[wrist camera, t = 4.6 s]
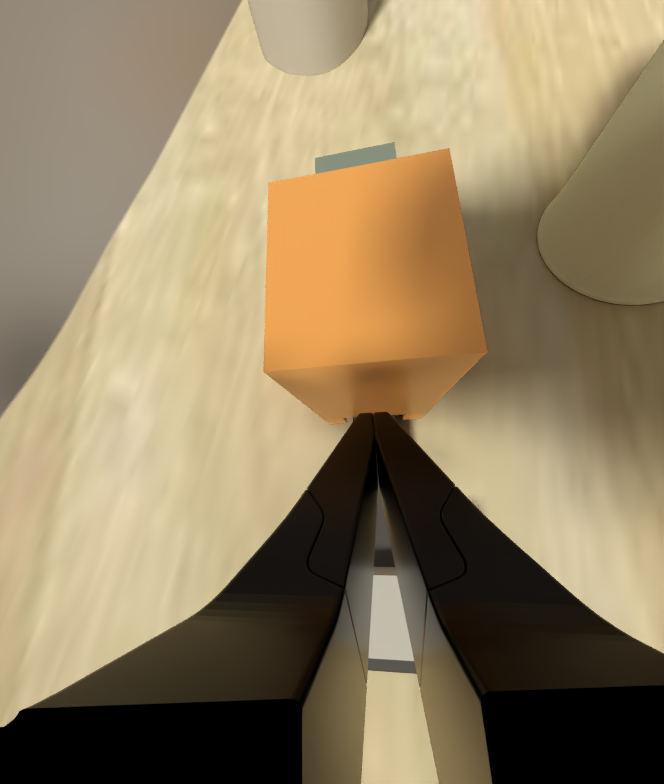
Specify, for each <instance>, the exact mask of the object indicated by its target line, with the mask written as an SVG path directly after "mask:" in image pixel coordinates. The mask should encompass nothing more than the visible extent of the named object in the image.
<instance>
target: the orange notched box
mask: <svg viewBox="0 0 664 784" xmlns="http://www.w3.org/2000/svg"><path fill="white" fill-rule="evenodd" d="M487 352H488V351H487V346H486V340H485V335H484V330H483V324H482V319H481V314H480V308H479V303H478V298H477V293H476V287H475V282H474V277H473V271H472V266H471V261H470V255H469V250H468V245H467V239H466V234H465V229H464V224H463V218H462V213H461V208H460V202H459V197H458V192H457V186H456V181H455V176H454V171H453V165H452V160H451V155H450V149H444V150H438V151H433V152H428V153H423V154H417V155H412V156H407V157H402V158H396V159H391V160H386V161H381V162H375V163H370V164H365V165H360V166H355V167H349V168H344V169H339V170H334V171H328V172H323V173H318V174H313V175H307V176H302V177H297V178H292V179H287V180H281V181H276V182H271V183H269V190H268V226H267V263H266V300H265V336H264V373H266V374H267V375H268V376H269V377H271V378H272V379H273V380H275V381H276V382H277V383H278V384H280V385H281V386H282V387H283V388H285V389H286V390H287V391H289V392H290V393H291V394H292V395H294V396H295V397H296V398H297V399H299V400H300V401H301V402H302V403H304V404H305V405H306V406H308V407H309V408H310V409H311V410H313V411H314V412H315V413H316V414H318V415H319V416H320V417H322V418H323V419H324V420H325V421H327V422H328V423H329V424H338V423H347V420H346V418H353V417H357V416H358V414H360V413H373V416H374V413H375V412H388V413H389V414H390V415H402V418H403V420H407V419H421V418H422V417H423V416H424V415H425V414H426V413H427V412H428V411H429V410H430V409H431V408H432V407H433V406H434V405H435V404H436V403H437V402H438V401H439V400H440V399H441V398H442V397H443V396H444V395H445V394H446V393H447V392H448V391H449V390H450V389H451V388H452V387H453V386H454V385H455V384H456V383H457V382H458V381H459V380H460V379H461V378H462V377H463V376H464V375H465V374H466V373H467V372H468V371H469V370H470V369H471V368H472V367H473V366H474V365H475V364H476V363H477V362H478V361H479V360H480V359H481V358H482V357H483V356H484V355H485V354H486V353H487Z"/></svg>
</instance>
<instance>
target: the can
mask: <svg viewBox="0 0 664 784" xmlns="http://www.w3.org/2000/svg"><path fill="white" fill-rule="evenodd" d="M537 241H538V247H539V250H540V254H541V256H542V258H543V260H544V262H545V264H546V265H547V267H548V268H549V269H550V271H551V272H552V273H553V274H554V275H555V276H556V277H557V278H558V279H559V280H560V281H562V282H563V283H564V284H565V285H567V286H568V287H570V288H572V289H573V290H575V291H577V292H579V293H581V294H583V295H585V296H588V297H590V298H593V299H596V300H600V301H604V302H608V303H614V304H621V305H643V304H652V303H657V302H661V301H664V40H663V42H662V43H661V45H660V46H659V48H658V49H657V51H656V52H655V54H654V55H653V57H652V58H651V60H650V61H649V63H648V64H647V66H646V67H645V69H644V70H643V72H642V73H641V75H640V76H639V77H638V79H637V80H636V82H635V83H634V85H633V86H632V88H631V89H630V91H629V92H628V94H627V95H626V97H625V98H624V100H623V101H622V103H621V104H620V106H619V107H618V108H617V110H616V111H615V113H614V114H613V116H612V117H611V119H610V120H609V122H608V123H607V125H606V126H605V128H604V129H603V131H602V132H601V134H600V135H599V137H598V138H597V139H596V141H595V142H594V144H593V145H592V147H591V148H590V150H589V151H588V153H587V154H586V156H585V157H584V159H583V160H582V161H581V163H580V164H579V166H578V167H577V169H576V170H575V172H574V173H573V174H572V176H571V177H570V179H569V180H568V182H567V183H566V184H565V186H564V187H563V189H562V190H561V191H560V193H559V194H558V195H557V196H556V197H555V198H554V199H553V200H552V201H551V203H550V204H549V205H548V206H547V208H546V209H545V211H544V213H543V215H542V217H541V219H540V222H539V226H538V233H537Z"/></svg>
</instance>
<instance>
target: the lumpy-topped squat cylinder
mask: <svg viewBox="0 0 664 784" xmlns="http://www.w3.org/2000/svg"><path fill="white" fill-rule="evenodd" d="M248 4H249V7H250V11H251V14H252V18H253V22H254V25H255V29H256V32H257V36H258V39H259V43H260V46H261V50H262V53H263V55H264V58H265V59H266V61H267V62H268V63H269V64H271V65H272V66H274V67H276V68H277V69H279V70H281V71H283V72H285V73H288V74H292V75H298V76H316V75H321V74H324V73H327V72H329V71H331V70H333V69H335V68H337V67H338V66H340V65H341V64H342V63H344V62H345V61H346V60H347V59H348V58H349V57H350V56H351V55H352V54H353V53H354V51H355V50H356V49H357V47H358V46H359V44H360V42H361V40H362V38H363V36H364V33H365V31H366V28H367V25H368V0H248Z"/></svg>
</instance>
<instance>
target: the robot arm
mask: <svg viewBox="0 0 664 784" xmlns="http://www.w3.org/2000/svg"><path fill="white" fill-rule="evenodd" d="M374 429H375V430H374ZM375 443H376V444H375ZM376 456H377V458H376ZM377 470H378V472H377ZM378 482H379V490H380V495H381V500H382V505H383V510H384V515H385V520H386V525H387V530H388V535H389V539H390V544H391V549H392V554H393V559H394V564H395V569H396V574H397V579H398V584H399V589H400V593H401V598H402V603H403V608H404V613H405V618H406V623H407V628H408V633H409V638H410V643H411V647H412V652H413V657H414V662H415V667H416V672H417V677H418V682H419V686H420V688H421V689H420V692H421V697H422V702H423V707H424V712H425V716H426V721H427V726H428V731H429V736H430V741H431V746H432V751H433V756H434V761H435V766H436V770H437V775H438V780H439V784H664V653H662V652H660V651H658V650H656V649H654V648H652V647H650V646H648V645H646V644H644V643H642V642H640V641H638V640H637V639H635V638H633V637H631V636H629V635H628V634H626V633H625V632H623V631H621V630H620V629H618V628H616V627H615V626H613V625H612V624H611V623H609V622H608V621H606V620H605V619H603V618H602V617H600V616H599V615H598V614H596V613H595V612H594V611H592V610H591V609H590V608H589V607H587V606H586V605H585V604H583V603H582V602H581V601H580V600H579V599H578V598H576V597H575V596H574V595H573V594H572V593H571V592H569V591H568V590H567V589H566V588H565V587H564V586H563V585H561V584H560V583H559V582H558V581H557V580H556V579H555V578H554V577H552V576H551V575H550V574H549V573H548V572H547V571H546V570H545V569H543V568H542V567H541V566H540V565H539V564H538V563H537V562H536V561H534V560H533V559H532V558H531V557H530V556H529V555H528V554H526V553H525V552H524V551H523V550H522V549H521V548H520V547H519V546H517V545H516V544H515V543H514V542H513V541H512V540H511V539H510V538H508V537H507V536H506V535H505V534H504V533H503V532H502V531H501V530H500V529H499V528H498V527H496V526H495V525H494V524H493V523H492V522H491V521H490V520H489V519H488V518H487V517H486V516H485V515H484V514H483V513H482V512H481V511H480V510H479V509H478V508H477V507H476V506H475V505H474V504H473V503H472V502H471V501H470V500H469V499H468V498H467V497H466V496H465V495H464V494H463V493H462V491H461V490H460V489H459V488H458V487H455V484H454V483H453V482H452V481H451V480H450V479H449V478H448V476H447V475H446V474H445V473H444V472H443V471H442V470H441V469H440V468H439V467H438V466H437V465H436V463H435V462H434V461H433V460H432V459H431V458H430V457H429V456H428V455H427V454H426V453H425V452H424V451H423V449H422V448H421V447H420V446H419V445H418V444H417V443H416V442H415V441H414V440H413V439H412V438H411V436H410V435H409V434H408V433H407V432H406V431H405V430H404V429H403V428H402V427H401V426H400V425H399V423H398V422H397V421H396V420H395V419H394V418H393V417H392V416H391V415H390V414H389V413H388V412H375V413H374V417H373V413H360V414H358V416H357V417H356V419H355V420H354V422H353V423H352V424H351V426H350V427H349V429H348V430H347V432H346V433H345V434H344V436H343V437H342V439H341V440H340V442H339V443H338V444H337V446H336V447H335V449H334V450H333V452H332V453H331V455H330V456H329V457H328V459H327V460H326V462H325V463H324V465H323V466H322V467H321V469H320V470H319V472H318V473H317V475H316V476H315V478H314V479H313V480H312V482H311V483H310V485H309V486H308V488H307V490H305V492H304V493H303V494H302V496H301V497H300V499H299V500H298V502H297V503H296V504H295V506H294V507H293V508H292V510H291V511H290V512H289V514H288V515H287V516H286V518H285V519H284V520H283V521H282V523H281V524H280V525H279V526H278V527H277V529H276V530H275V531H274V532H273V533H272V535H271V536H270V537H269V538H268V539H267V540H266V541H265V543H264V544H263V545H262V546H261V547H260V548H259V549H258V551H257V552H256V553H255V554H254V555H253V556H252V557H251V559H250V560H249V561H248V562H247V563H246V564H245V565H244V567H243V568H242V569H241V570H240V571H239V572H238V573H237V575H236V576H235V577H234V578H233V579H232V580H231V581H230V582H229V584H228V585H227V586H226V587H225V588H224V589H223V590H222V591H221V592H220V593H219V594H218V595H217V596H216V597H215V598H214V599H213V600H212V601H211V602H210V603H208V604H207V605H206V606H205V607H204V608H202V609H201V610H200V611H198V612H197V613H196V614H194V615H193V616H191V617H189V618H188V619H186V620H184V621H183V622H181V623H179V624H177V625H176V626H174V627H172V628H170V629H169V630H167V631H165V632H163V633H162V634H160V635H158V636H156V637H154V638H153V639H151V640H149V641H147V642H146V643H144V644H142V645H140V646H139V647H137V648H135V649H133V650H132V651H130V652H128V653H126V654H124V655H123V656H121V657H119V658H117V659H116V660H114V661H112V662H110V663H109V664H107V665H105V666H103V667H102V668H100V669H98V670H96V671H95V672H93V673H91V674H89V675H87V676H86V677H84V678H82V679H80V680H79V681H77V682H75V683H73V684H72V685H70V686H68V687H66V688H65V689H63V690H61V691H59V692H58V693H56V694H54V695H52V696H50V697H48V698H46V699H44V700H42V701H40V702H38V703H36V704H34V705H32V706H30V707H28V708H25V709H23V710H21V711H19V713H18V715H17V716H16V717H15V719H14V720H12V721H11V722H10V723H9V724H7V725H6V726H5V727H0V784H361V774H362V757H363V741H364V724H365V707H366V690H367V686H366V683H367V672H368V656H369V639H370V622H371V605H372V589H373V572H374V555H375V538H376V521H377V505H378Z"/></svg>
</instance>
